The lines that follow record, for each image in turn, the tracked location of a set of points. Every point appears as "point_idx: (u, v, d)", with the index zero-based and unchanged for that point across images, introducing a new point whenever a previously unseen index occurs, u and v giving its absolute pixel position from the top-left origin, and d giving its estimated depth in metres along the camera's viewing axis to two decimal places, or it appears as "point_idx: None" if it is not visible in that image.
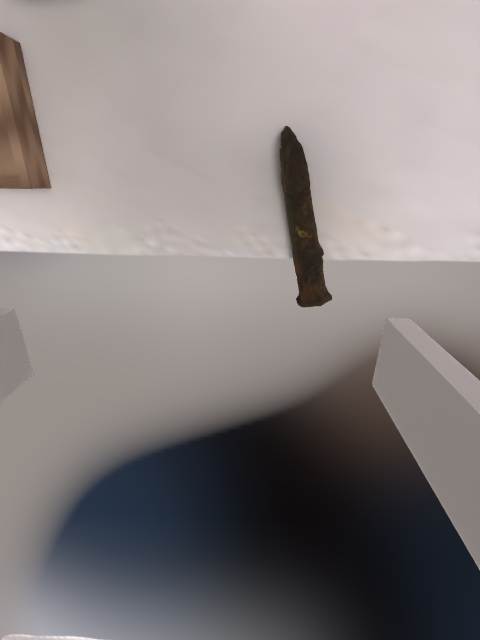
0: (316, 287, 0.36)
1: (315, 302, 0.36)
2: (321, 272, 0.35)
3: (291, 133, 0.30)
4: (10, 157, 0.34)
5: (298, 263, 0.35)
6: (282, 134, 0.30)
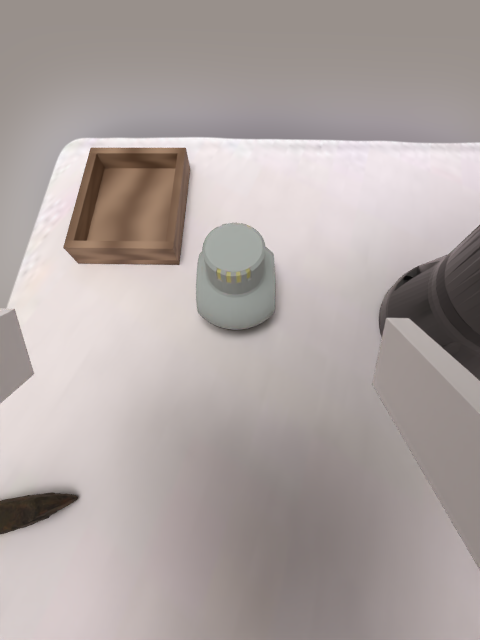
0: None
1: None
2: None
3: (47, 508, 0.27)
4: (103, 238, 0.40)
5: None
6: (56, 496, 0.28)
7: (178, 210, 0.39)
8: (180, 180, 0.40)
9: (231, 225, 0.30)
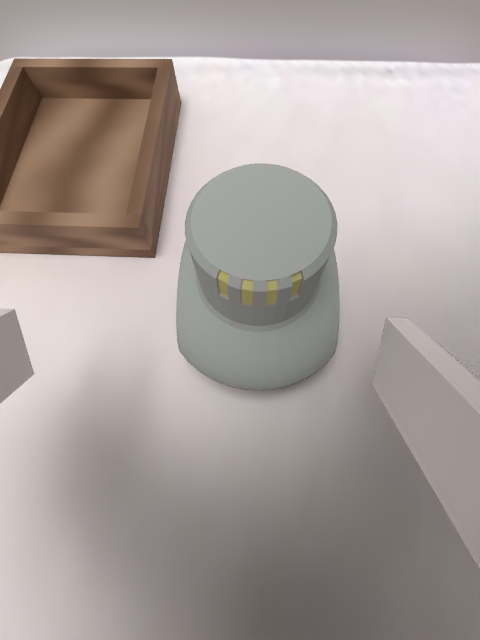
0: None
1: None
2: None
3: None
4: (25, 210, 0.23)
5: None
6: None
7: (154, 160, 0.22)
8: (160, 110, 0.23)
9: (255, 168, 0.13)
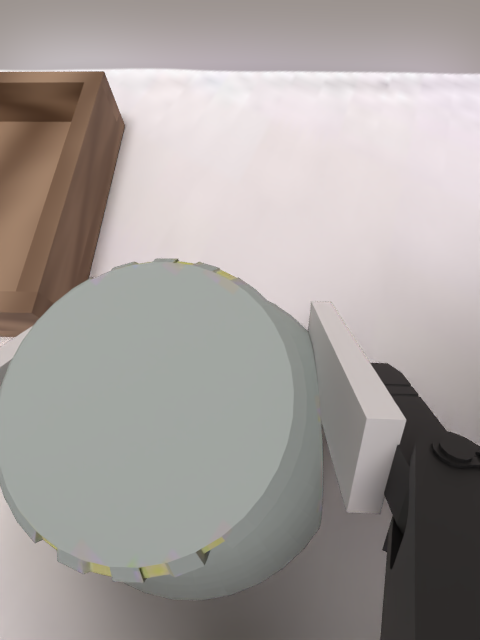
0: None
1: None
2: None
3: None
4: None
5: None
6: None
7: (67, 209, 0.16)
8: (81, 138, 0.17)
9: (148, 273, 0.07)
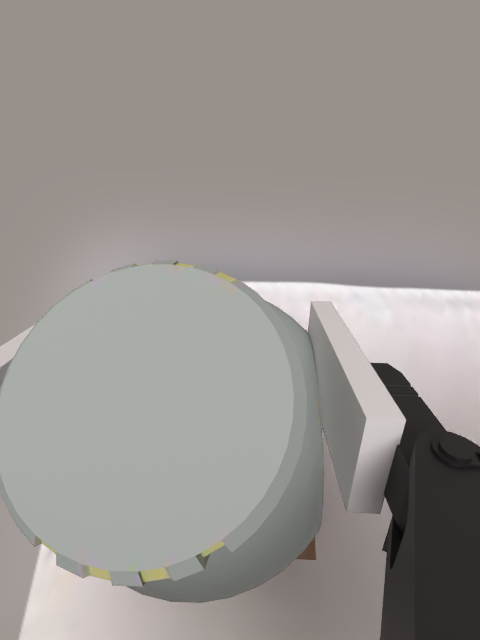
0: None
1: None
2: None
3: None
4: None
5: None
6: None
7: None
8: None
9: (148, 276, 0.06)
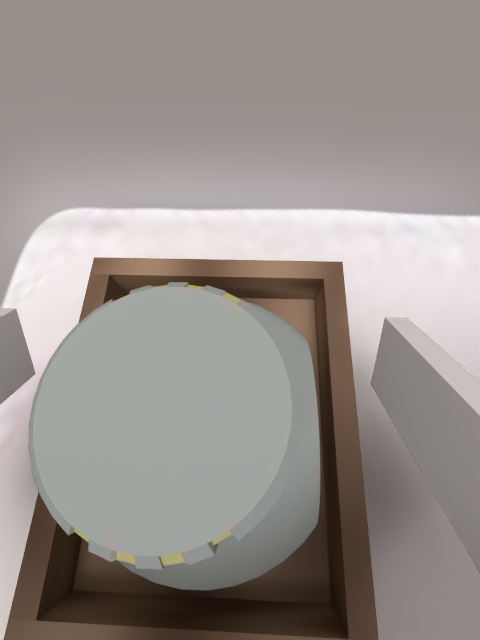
0: None
1: None
2: None
3: None
4: None
5: None
6: None
7: None
8: (349, 371, 0.14)
9: (162, 297, 0.07)
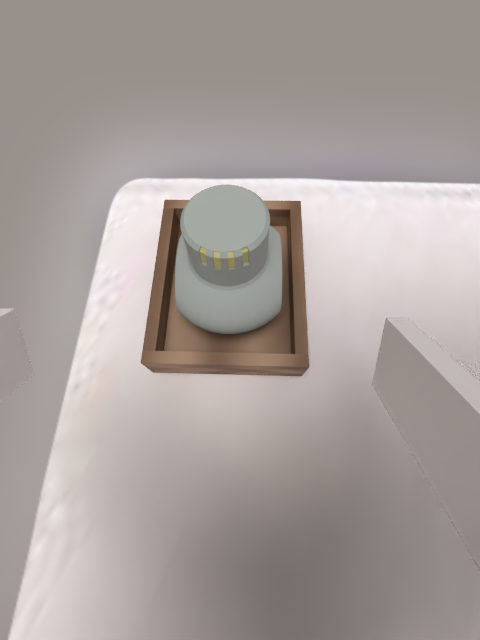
0: None
1: None
2: None
3: None
4: (189, 336, 0.28)
5: None
6: None
7: None
8: (301, 252, 0.28)
9: (222, 187, 0.21)
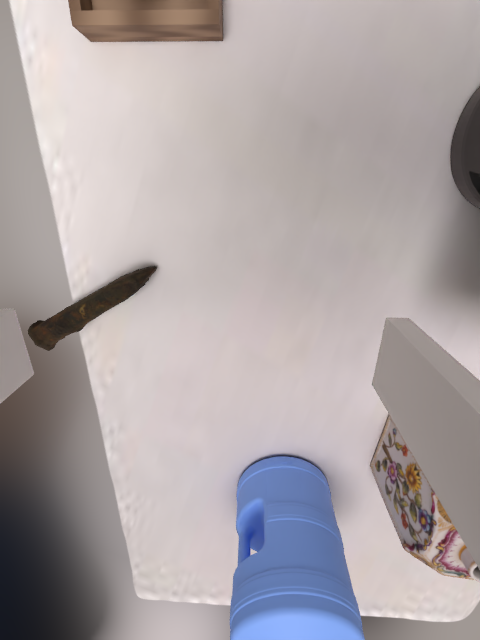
0: (49, 336, 0.41)
1: (36, 340, 0.41)
2: (63, 335, 0.41)
3: (143, 279, 0.37)
4: None
5: (59, 315, 0.40)
6: (143, 270, 0.37)
7: None
8: None
9: None
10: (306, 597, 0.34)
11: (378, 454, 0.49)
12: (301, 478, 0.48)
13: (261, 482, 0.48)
